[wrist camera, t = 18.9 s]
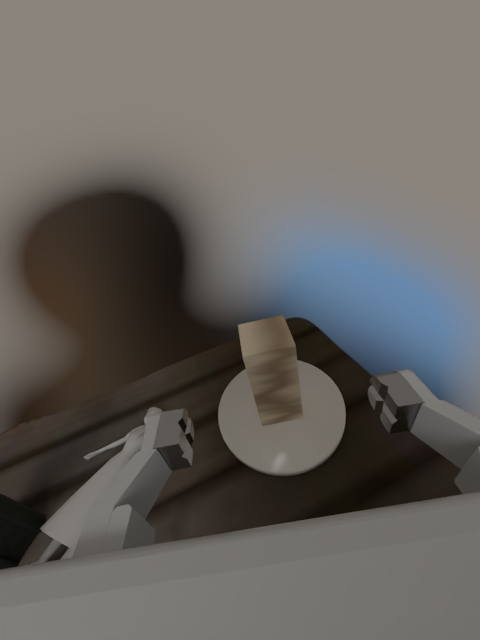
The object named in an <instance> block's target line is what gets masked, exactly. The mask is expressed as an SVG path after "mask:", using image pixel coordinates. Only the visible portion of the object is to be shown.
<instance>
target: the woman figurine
mask: <svg viewBox="0 0 480 640" xmlns="http://www.w3.org/2000/svg"><path fill="white" fill-rule="evenodd" d="M158 412H162V410H161V409H159V408H156V407H152V408H150V409H149V410H148V411H147V415H146V416H145V417H144V423H145V425H142V426H139V427H137V428H135V429H133V430H132V431H131V432H132V433H131V432H130V433H128V434H127V435H126V437H124V438H122V439H120V440H118V441H115V442H113V443H111V444H110V445H108V446H106V447H103V448H101V449H99V450H97V451H95V452H92V453H89V454H87V455H86V456H84V457H85V458H86V459H87V458H88V459H90V458H91V457H94V456H96V455H97V454H99V453H101V452H103V451H105V450H108V449H110V448H114V447H116V446H119V445H121V444H123V443H125V446H124V448H123V450H122V451H121V452H120V453H118V454H117V455H115V456H114V457H112V458H111V459H110V460H109V461H108V462H107V463H106V464H105V465H104V466H103V467H102V468H101V469H100V470H99V471H98V472H97V473H95V474H94V475H93V476H92V477H91V478H90V479H89V480H88V481H87V482H86V483H85V484H84V485H83V486H82V487H81V488H80V489H79V490H78V491H76V492H75V493H74V494H73V495H72V496H71V497H70V498H69V499H68V500H67V501H66V502H65V503H64V504H63V505H62V506H61V507H60V508H59V509H58V510H57V511H56V512H55V514H54V515H53V516H52V517H51V518H50V519H49V520H48V521H47V522H46V523H45V524H44V525H43V526H42V527H41V528H40V529H41V530H42V531H43V532H44V533H46V534H47V535H48V536H50V537H52V538H53V540H52V541H51V543H50V544H49V546H48V547H47V548H46V550H45V551H44V553H43V554H42V556H41V557H40V559H39V560H38V561H36V562H34V563H31V564H37V563H43V562H46V561H47V560H48V559H49V558H50V557H51V556H52V555H53V554H54V552H55V551H56V550H57V549H58V548H59V547H60V546H61V545H62V544H64V545H66V546H68V547H69V548H68V549H67V551H66V552H65V554H64V555H63V556H62V558H61V559H67V558H72V556H73V553H74V551H75V548H76V545H77V542H78V539H79V537H80V534H81V531H82V528H83V526H84V523H85V520H86V517H87V514H88V512H89V509H90V508H91V507H92V506H93V504H94V503H95V502H96V501H97V499H98V498H99V497H100V496H101V495H102V493H103V492H104V491H105V490H106V488H107V487H108V486H109V485H110V484H111V482H112V481H113V480H114V479H115V478H116V476H117V475H118V474H119V473H120V471H121V470H122V469H123V468H124V467H125V465H126V464H127V463H128V462H129V460H130V459H131V458H132V457H133V456H134V454H135V453H136V452H138V451H139V450H140V449H141V445H142V441H143V437H144V434H145V430H146V426H147V422H148V418H149V416H150V414H152V413H158ZM85 458H84V459H85ZM88 459H87V460H88ZM61 559H60V560H61ZM31 564H29V565H31ZM26 565H27V564H26Z"/></svg>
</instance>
